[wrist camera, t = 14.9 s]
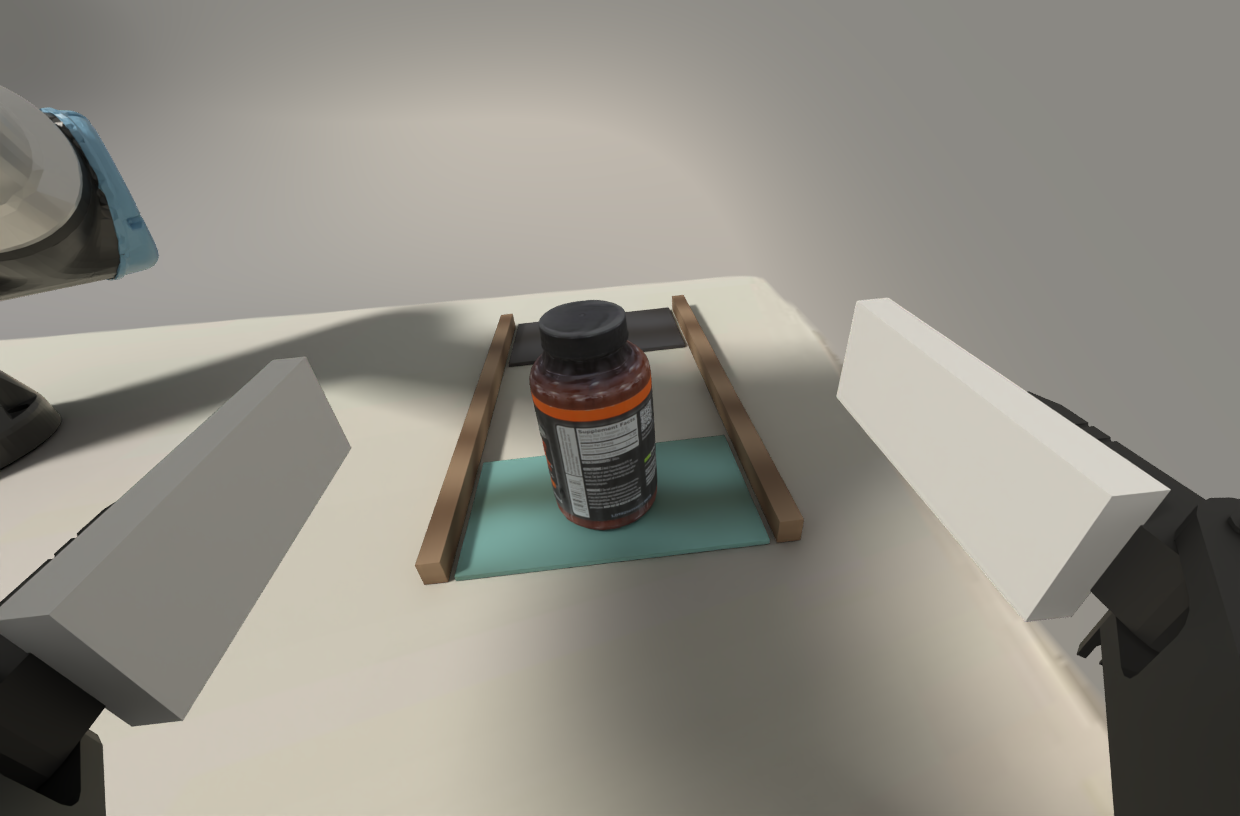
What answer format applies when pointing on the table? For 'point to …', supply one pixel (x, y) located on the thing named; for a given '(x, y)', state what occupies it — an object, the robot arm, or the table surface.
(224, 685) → the table surface
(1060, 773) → the table surface
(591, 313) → the supplement bottle
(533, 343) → the channel track
